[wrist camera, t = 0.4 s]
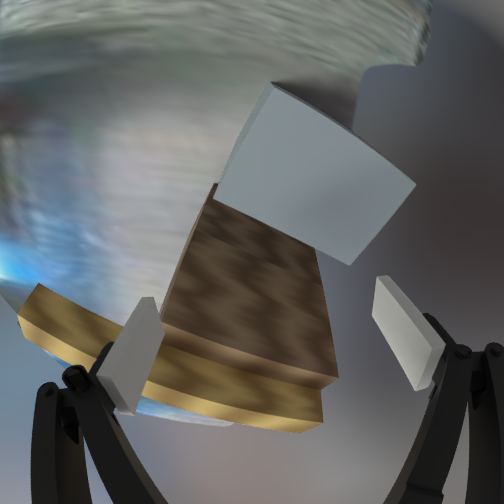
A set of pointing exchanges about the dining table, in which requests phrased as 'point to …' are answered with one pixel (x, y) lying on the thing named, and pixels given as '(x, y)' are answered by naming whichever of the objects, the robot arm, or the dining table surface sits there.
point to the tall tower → (250, 300)
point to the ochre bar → (172, 370)
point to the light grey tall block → (311, 177)
